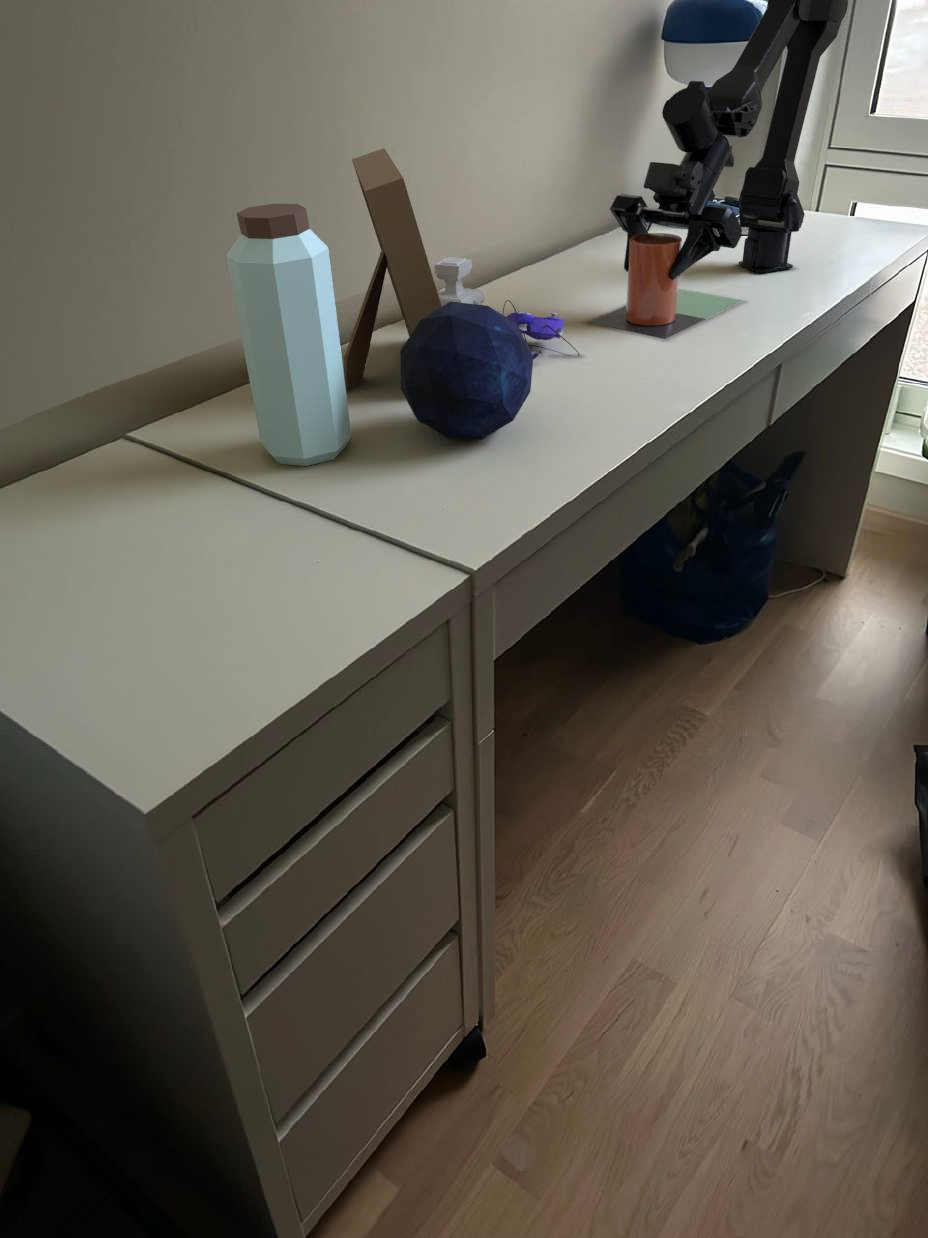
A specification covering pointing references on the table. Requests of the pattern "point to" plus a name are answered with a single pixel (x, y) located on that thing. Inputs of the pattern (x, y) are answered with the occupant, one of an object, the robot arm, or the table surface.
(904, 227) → the table surface
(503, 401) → the decorative orb
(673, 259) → the tumbler
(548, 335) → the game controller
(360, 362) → the photo frame
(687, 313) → the desk mat
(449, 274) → the stamp
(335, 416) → the water bottle
